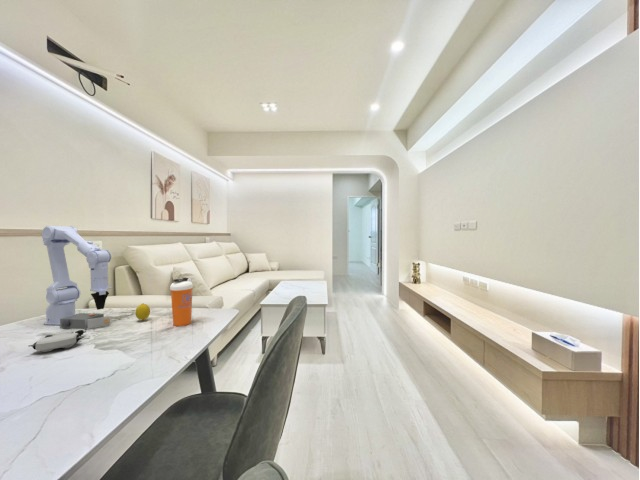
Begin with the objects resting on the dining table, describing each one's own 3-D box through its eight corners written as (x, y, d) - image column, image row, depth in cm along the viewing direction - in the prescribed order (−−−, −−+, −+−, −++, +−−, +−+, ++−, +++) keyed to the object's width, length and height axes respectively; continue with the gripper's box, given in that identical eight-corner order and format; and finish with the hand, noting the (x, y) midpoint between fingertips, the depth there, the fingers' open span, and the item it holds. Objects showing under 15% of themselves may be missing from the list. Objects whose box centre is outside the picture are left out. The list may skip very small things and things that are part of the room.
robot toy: (43, 345, 91) (26, 358, 79) (43, 332, 92) (27, 344, 79) (88, 337, 98) (79, 348, 86) (88, 325, 99) (79, 335, 86)
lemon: (137, 319, 116) (136, 302, 116) (151, 318, 119) (151, 301, 118) (134, 323, 111) (133, 305, 111) (149, 321, 114) (148, 304, 113)
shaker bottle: (165, 325, 108) (164, 279, 107) (182, 319, 116) (181, 276, 116) (182, 327, 105) (181, 280, 105) (198, 321, 114) (197, 277, 113)
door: (85, 328, 105) (85, 319, 105) (109, 324, 109) (109, 316, 109) (84, 329, 104) (84, 320, 104) (109, 325, 108) (108, 317, 108)
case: (57, 329, 105) (57, 318, 105) (80, 321, 114) (80, 311, 114) (83, 329, 104) (82, 318, 104) (103, 322, 113) (103, 312, 113)
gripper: (114, 278, 107) (115, 309, 107) (108, 275, 117) (109, 304, 117) (92, 280, 102) (93, 313, 102) (87, 277, 111) (88, 307, 111)
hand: (100, 308), depth 109 cm, fingers closed
